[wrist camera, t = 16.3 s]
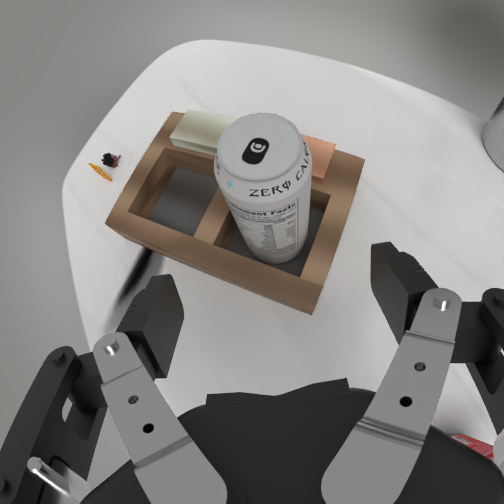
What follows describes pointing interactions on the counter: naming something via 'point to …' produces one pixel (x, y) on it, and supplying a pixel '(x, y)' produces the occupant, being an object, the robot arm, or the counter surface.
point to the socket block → (229, 211)
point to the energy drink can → (266, 184)
